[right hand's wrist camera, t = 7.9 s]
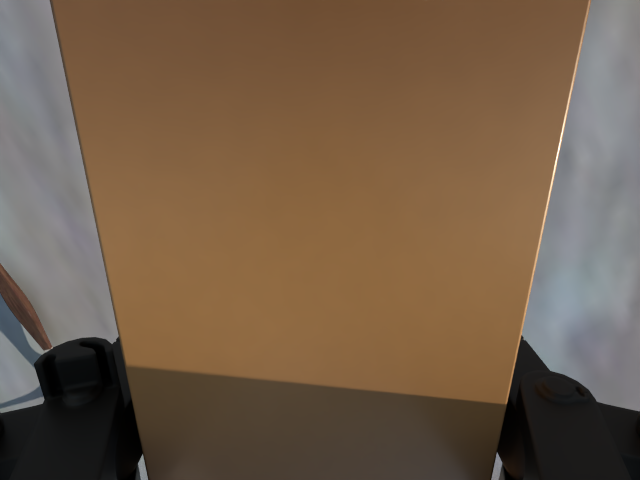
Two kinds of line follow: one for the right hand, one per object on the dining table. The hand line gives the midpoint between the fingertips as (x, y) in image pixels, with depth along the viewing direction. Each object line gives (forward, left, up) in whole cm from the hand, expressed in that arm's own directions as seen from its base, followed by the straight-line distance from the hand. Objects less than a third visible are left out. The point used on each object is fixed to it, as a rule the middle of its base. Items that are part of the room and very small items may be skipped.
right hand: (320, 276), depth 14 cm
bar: (+4, +7, 0) cm, 8 cm away
